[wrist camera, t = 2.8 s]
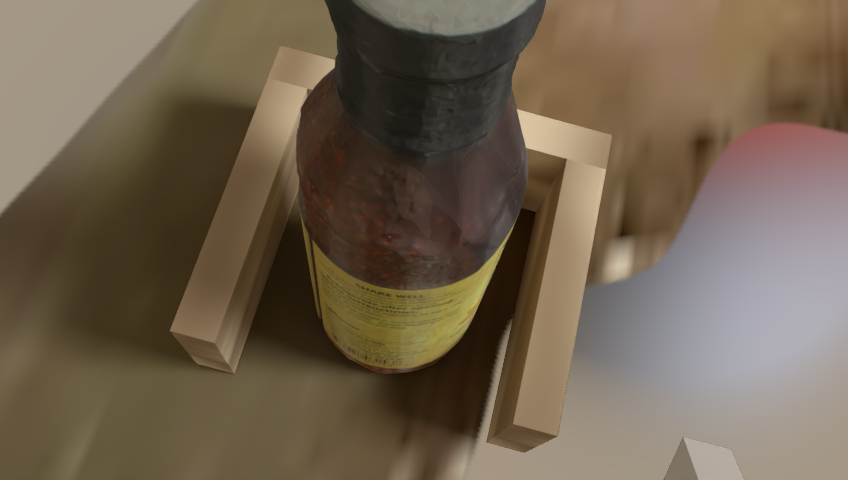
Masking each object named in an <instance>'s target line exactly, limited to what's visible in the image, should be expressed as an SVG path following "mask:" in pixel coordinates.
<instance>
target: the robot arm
mask: <svg viewBox="0 0 848 480" xmlns="http://www.w3.org/2000/svg"><path fill="white" fill-rule="evenodd" d="M664 480H744V478H743V476H742V474H741V471H740V469H739V467H738V465H737V462H736V460H735V458H734V456H733V453H732V451H731V449H728V448H724V447H720V446H716V445H713V444H709V443H705V442H701V441H697V440H693V439H690V438H686V437H683V438H682V441H681V443H680V445H679V447H678V449H677V452H676V454H675V456H674V458H673V460H672V463H671V465H670V467H669V469H668V471H667V474H666V476H665V478H664Z"/></svg>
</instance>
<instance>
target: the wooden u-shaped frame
mask: <svg viewBox="0 0 848 480" xmlns="http://www.w3.org/2000/svg"><path fill="white" fill-rule="evenodd" d="M333 68H335V60H332V59H329V58H325V57H321V56H318V55H314V54H310V53H306V52H303V51H299V50H295V49H292V48H288V47H284V46H280V48H279V51H278V53H277V56H276V58H275V61H274V64H273V66H272V69H271V71H270V74H269V76H268V79H267V82H266V84H265V87H264V89H263V92H262V94H261V97H260V100H259V102H258V105H257V107H256V110H255V113H254V115H253V118H252V120H251V123H250V125H249V128H248V131H247V133H246V136H245V138H244V141H243V143H242V146H241V149H240V151H239V154H238V156H237V159H236V161H235V164H234V167H233V169H232V172H231V174H230V177H229V179H228V182H227V185H226V187H225V190H224V192H223V195H222V197H221V200H220V203H219V205H218V208H217V210H216V213H215V216H214V218H213V221H212V223H211V226H210V228H209V231H208V234H207V236H206V239H205V241H204V244H203V246H202V249H201V252H200V254H199V257H198V259H197V262H196V264H195V267H194V270H193V272H192V275H191V277H190V280H189V282H188V285H187V288H186V290H185V293H184V295H183V298H182V300H181V303H180V306H179V308H178V311H177V313H176V316H175V319H174V321H173V324H172V326H171V329H170V332H171V333H172V334H173V336H174V337H175V338H176V339H177V340H178V342H179V343H180V344H181V345H182V346H183V348H184V349H185V350H186V351H187V353H188V354H189V355H190V356H191V357H192V359H193V360H194V361H195V362H196V364H200V365H203V366H207V367H211V368H214V369H218V370H222V371H225V372H229V373H233V374H235V371H236V368H237V365H238V362H239V359H240V357H241V354H242V351H243V348H244V345H245V342H246V339H247V336H248V334H249V331H250V328H251V325H252V322H253V319H254V316H255V313H256V311H257V308H258V305H259V302H260V299H261V296H262V293H263V290H264V288H265V285H266V282H267V279H268V276H269V273H270V270H271V267H272V265H273V262H274V259H275V256H276V253H277V250H278V247H279V244H280V242H281V239H282V236H283V233H284V230H285V227H286V224H287V221H288V219H289V216H290V213H291V210H292V207H293V204H294V201H295V198H296V196H297V193H298V187H299V176H298V173H297V163H296V134H297V129H298V128H299V122H300V117H301V107H302V105H303V104H304V102H305V100H306V98H307V97H308V96H309V95H310V93H311V92H312V91H313V89H314V87H315V86H316V85H317V84H318V83H319V82H320V80H321V79H322V78H323V77H324V76H325V75H326V74H328V73H329V72H330V71H331V70H332V69H333ZM517 112H518V117H519V121H520V125H521V130H522V134H523V138H524V141H525V146H526V151H527V157H528V180H527V187H526V193H525V197H524V200H523V203H522V207H521V208H523V209H527V210H531V211H535V212H536V214H535V219H534V223H533V228H532V233H531V237H530V242H529V247H528V251H527V256H526V261H525V265H524V270H523V275H522V279H521V284H520V289H519V293H518V298H517V303H516V307H515V312H514V317H513V321H512V326H511V331H510V335H509V340H508V345H507V349H506V354H505V359H504V363H503V368H502V373H501V377H500V382H499V387H498V391H497V396H496V400H495V405H494V410H493V414H492V419H491V424H490V428H489V433H488V438H487V443H491V444H495V445H499V446H502V447H506V448H510V449H513V450H517V451H520V452H526V451H529V450H531V449H533V448H535V447H537V446H539V445H541V444H543V443H545V442H547V441H549V440H551V439H553V438H555V437H557V436H558V433H559V427H560V421H561V415H562V410H563V405H564V399H565V394H566V388H567V382H568V377H569V371H570V366H571V360H572V355H573V349H574V344H575V338H576V333H577V327H578V322H579V316H580V311H581V305H582V300H583V294H584V289H585V283H586V278H587V272H588V266H589V261H590V255H591V250H592V244H593V239H594V233H595V228H596V222H597V217H598V211H599V206H600V200H601V194H602V189H603V183H604V178H605V172H606V167H607V161H608V156H609V150H610V145H611V139H612V135H609V134H606V133H602V132H598V131H595V130H591V129H587V128H584V127H580V126H576V125H572V124H569V123H565V122H561V121H558V120H554V119H550V118H547V117H543V116H539V115H535V114H532V113H528V112H524V111H521V110H517Z"/></svg>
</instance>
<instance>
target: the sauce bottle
mask: <svg viewBox="0 0 848 480" xmlns="http://www.w3.org/2000/svg"><path fill="white" fill-rule="evenodd" d="M325 2H326V4H327V7H328V9H329V13H330V16H331V20H332V22H333V24H334V27H335V31H336V32H337V50H338V55H337V57H336V59H335V68H333V69H332V70H331V71H330V72H329V73H328V74H326V75H325V76H324V77H323V78H322V79H321V80H320V82H319V83H318V84H317V85H316V86H315V87H314V89H313V91H312V92H311V93H310V95H309V96H308V97H307V98H306V100H305V102H304V104H303V105H302V107H301V117H300V122H299V128H298V129H297V134H296V163H297V173H298V176H299V187H298V199H299V209H300V215H301V221H302V227H303V233H304V239H305V245H306V251H307V257H308V263H309V269H310V275H311V281H312V286H313V291H314V297H315V304H316V309H317V313H318V317H319V318H320V319H322V320H323V325H324V330H325V333H326V334H327V336H328V338H329V339H330V340H331V342H332V343H333V344H334V345H335V346H336V348H337V349H338V350H339V351H340V352H341V353H343V354H344V355H345V356H346V357H347V358H348V359H350V360H352V361H355V362H356V363H358V364H360V365H362V366H363V367H364V368H368V369H369V370H371V371H374V372H378V373H381V374H390V373H391V374H398V373H405V372H412V371H417V370H420V369H423V368H426V367H429V366H431V365H433V364H435V363H436V362H437V361H439V360H440V359H441V358H443V357H444V356H446V355H447V353H448V351H449V350H451V349H452V348H453V347H454V346H455V345H456V344H457V343H458V342H459V341H460V340H461V338H462V337H463V335H464V334H465V332H466V331H467V329H468V327H469V326H470V324H471V322H472V320H473V318H474V315H475V313H476V310H477V308H478V306H479V304H480V302H481V299H482V297H483V295H484V292H485V290H486V288H487V286H488V284H489V282H490V280H491V278H492V276H493V274H494V272H495V268H496V265H497V263H498V262H499V260H500V257H501V254H502V251H503V249H504V248H505V244H506V242H507V241H508V239H509V238H510V235H511V232H512V230H513V227H514V224H515V222H516V219H517V217H518V215H519V212H520V210H521V207H522V203H523V200H524V197H525V193H526V187H527V180H528V157H527V151H526V146H525V141H524V138H523V134H522V130H521V125H520V121H519V117H518V112H517V108H516V104H515V100H514V95H513V91H512V88H511V87H512V74H513V71H514V69H515V66H516V62H517V60H518V57H519V54H520V52H522V51H523V49H524V48H525V47H526V46H527V44H528V43H529V42H530V40H531V39H532V37H533V36H534V34H535V31H536V29H537V26H538V24H539V22H540V20H541V18H542V15H543V11H544V8H545V3H546V0H325Z"/></svg>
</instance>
